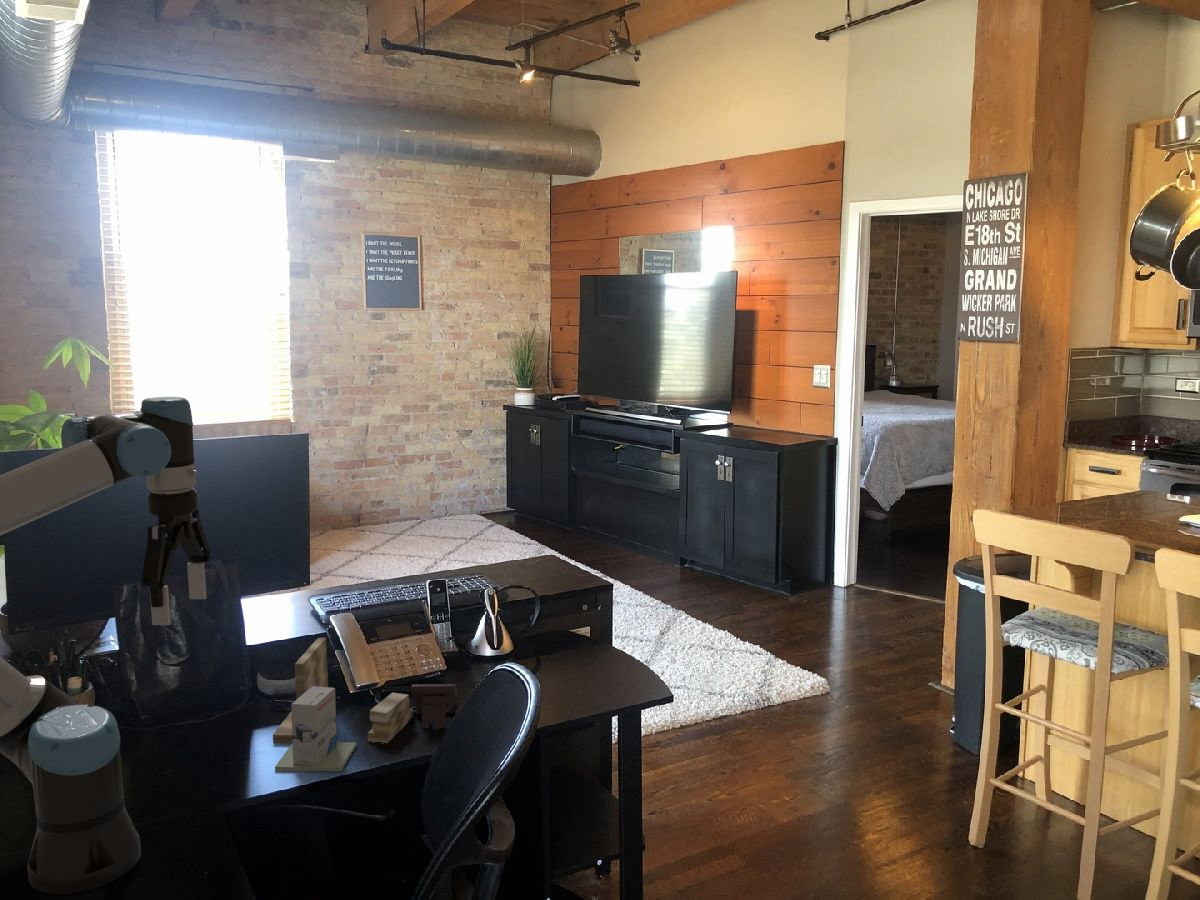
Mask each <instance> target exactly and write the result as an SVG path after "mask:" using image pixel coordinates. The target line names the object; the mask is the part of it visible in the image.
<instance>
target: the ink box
mask: <svg viewBox="0 0 1200 900" xmlns="http://www.w3.org/2000/svg"><path fill="white" fill-rule="evenodd" d="M290 705H291V711H292V743H291V744H292V745H293V763H295V764H301V765H309V766H317V765H318V764H319V763H320V762H321V761H322V760H323V759H324V758H325V757H326V756H327V755H328V753H330V751H331V750H332V749H333V748H334V747H335V746H336V745H337V742H338V741H337V717H336V715H337V714H336V712H337V711H336V688H335V687H329V686H328V687H319V686H312V687H311V688H310V689H308V690H307V691H306V692H305V693H304V694H303V695H301V696H300V697H299V698H298V699H297V698H296V700H295V701H293V702H292V703H291V704H290Z"/></svg>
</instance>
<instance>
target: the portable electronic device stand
mask: <svg viewBox="0 0 1200 900" xmlns="http://www.w3.org/2000/svg"><path fill="white" fill-rule="evenodd" d="M410 688H411V689H410V692H411V696H413V698H414V706H415V707H414V708H415V713H416V715H420V714H422V715H421V724H420V725H421V726H420V727H421V728H422V727H423V728H425V727H428V728H429V727H430V723H434V722H435V723H437V728H438V727H441V726H442V727H445V728H446V721H447V720H446V719H447V717H446V716H447V715H453V714H452V713H455V711H456V710H457V709H458V708H459V709H460V702H459V701H458V691H457V688H458V687H457V683H443V684H441V683H439V684H438V683H437V684H436V683H435V684H434V683H429V684H428V683H427V684H417V683H416V684H412V685H411V687H410ZM423 728H422V729H423Z"/></svg>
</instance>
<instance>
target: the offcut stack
mask: <svg viewBox="0 0 1200 900" xmlns="http://www.w3.org/2000/svg"><path fill="white" fill-rule="evenodd" d="M413 712H414V710H413V708H410V697H409V694H405V693H397V692H391V693H390V694H388V696H386V697H385V698H384V699H383V700H381V701H380V702H378V703H377V704H376V705H375V706H374V707H372V708H371V709H370V710H369V721H371V722H372V725H371V726H372V728H370V730H369V731H368V732H367V742H368V741H370V742H371V741H372V742H371V743H375V742H382V743H381V744H384V743H388V742H389V741H390V740H391V739H392V740H393V738H394V737H396V735H398V734H399V732H401V731H402V729H404V727H405V726H406V725H407V724H408V723H409V722H410V721H411V720H412V719H413V718H412V717H414V716H413V715H414V714H413ZM411 718H412V719H411ZM410 719H411V720H410ZM409 720H410V721H409ZM408 721H409V722H408ZM392 740H391V741H392ZM391 741H390V742H391ZM370 742H369V743H370ZM390 742H389V743H390ZM389 743H388V744H389Z"/></svg>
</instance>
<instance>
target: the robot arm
mask: <svg viewBox="0 0 1200 900" xmlns="http://www.w3.org/2000/svg"><path fill="white" fill-rule="evenodd" d="M192 414H193V413H192V409H191V404H190V402H189V400H188V399H187V398H185V397H181V396H180V397H179V396H156V397H148V398H145V399H143V400H142V401H141V407H140V411H139V410H138V411H135V412H131V413H129V412H127V413H113V414H96V415H86V414H85V415H83V416H78V417H70V418H67V419H66V420H64V422H63V424H62V426H61V432H60V440H61V447H62V449H61V450H58V451H55V452H54V453H51V454H49V455H47V456H44V457H42V458H39V459H36V460H33V461H31V462H29V463H27V464H24V465H22V466H20V467H17V468H15V469H12V470H10V471H7V472H5V473H3V474H0V536H2V535H4V534H7V533H9V532H11V531H13V530H16V529H18V528H20V527H22V526H25V525H27V524H29V523H31V522H33V521H36V520H37V519H40V518H43V517H45V516H47V515H49V514H52V513H54V512H56V511H58V510H60V509H63V508H65V507H67V506H69V505H71V504H74V503H75V502H79V501H80V500H82V499H85V498H87V497H89V496H91V495H94V494H96V493H98V492H100V491H103V490H105V489H107V488H110V487H111V486H114V485H116V484H118V483H120V482H123V481H126V480H129V479H130V478H132V477H137V478H139V477H146V488H147V490H149V492H148V493H147V502H148V512H149V514H150V515H151V516H155V517H157V518H158V519H157V525H149V526H148V527H147V543H146V549H145V556H144V561H143V567H142V568H143V569H142V575H141V582H140V586H141V588H146V589H147V588H148V589H149V598H150V611H151V614H150V615H151V625H152V626H170V625H171V624H172V623H171V610H170V609H171V608H170V596H169V594H170V593H169V585H166V582H167V578H168V574H169V570H170V567H171V563H172V561H173V556H174V552H175V551H177V550H178V549H179V545H180V546H181V548H182V550H183V551H184V553H185V555H186V556H187V558H188V559H189V562H187V564H186V566H187V581H188V593H189V595H188V598H189V600H206V599H207V588H206V584H207V583H206V571H205V562H210V560H211V555H210V554H211V550H210V547H209V544H208V540H207V536H206V534H205V531H204V528H203V526H202V523H201V517H200V516H201V515H200V510H199V509H198V507H199V506H198V492H197V490H196V489H195V488H194V487H195V486H196V485H197V483H196V482H197V480H196V476H197V475H198V471H197V469H196V467H195V465H196V464H195V455H194V454H195V451H194V450H195V449H194V427H193V426H194V423H193V416H192ZM120 745H121V735H120V731H119V727H118V722H117V719H116V718H115V716H114V715H113V713H112V712H110V711H109V710H108V709H107V708H104V707H102V706H99V705H94V706H90V705H89V704H78V702H77V701H76V700H75V699H74V698H73V697H71V696H70V695H69V694H68V693H65V692H64V691H61V690H60V689H59V688H58V687H56V686H55V685H54V684H53V683H51V681H49V680H47V679H46V678H44V676H42V675H39V674H35V675H27V676H25V675H24V674H23V673H21V672H20V671H19V670H18V669H16V668H15V667H14V666H13V665H11V664H10V663H9V662H8V661H6V660H5V659H4V658H3V657H1V656H0V754H1V755H3V756H4V757H5V758H7V759H8V760H9V761H11V762H12V763H13V764H14V765H15V766H17V767H18V769H19V770H20V771H21V772H22V774H23V775H24V776H25V777H26V778H27V780H28V781H29V782H30V783H31V785H32V788H33V796H34V797H33V798H34V805H35V815H36V827H37V828H36V831H35V835H34V839H33V843H32V846H31V850H30V853H29V857H28V859H27V860H28V861H27V875H28V876H27V877H28V878H27V879H28V883H29V884H30V887H32V888H33V889H34V890H36V891H38V892H40V893H43V894H47V895H71V894H79V893H83V892H88V891H91V890H94V889H97V888H100V887H103V886H106V885H107V884H111V883H112V882H114V881H116V880H118V879H120V878H121V877H123V876H124V875H125V874H127V873H128V872H130V871H131V870H132V869H133V868H134V867H135V866H136V864H137V863H138V862H139V861H140V859H141V855H142V848H141V839H140V838H141V837H140V835H139V833H138V831H137V830H136V827H135V825H134V823H133V821H132V819H131V817H130V815H129V813H128V811H127V809H126V807H125V798H124V797H125V796H124V795H125V794H124V785H123V771H122V759H121V758H122V757H121V746H120Z"/></svg>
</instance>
